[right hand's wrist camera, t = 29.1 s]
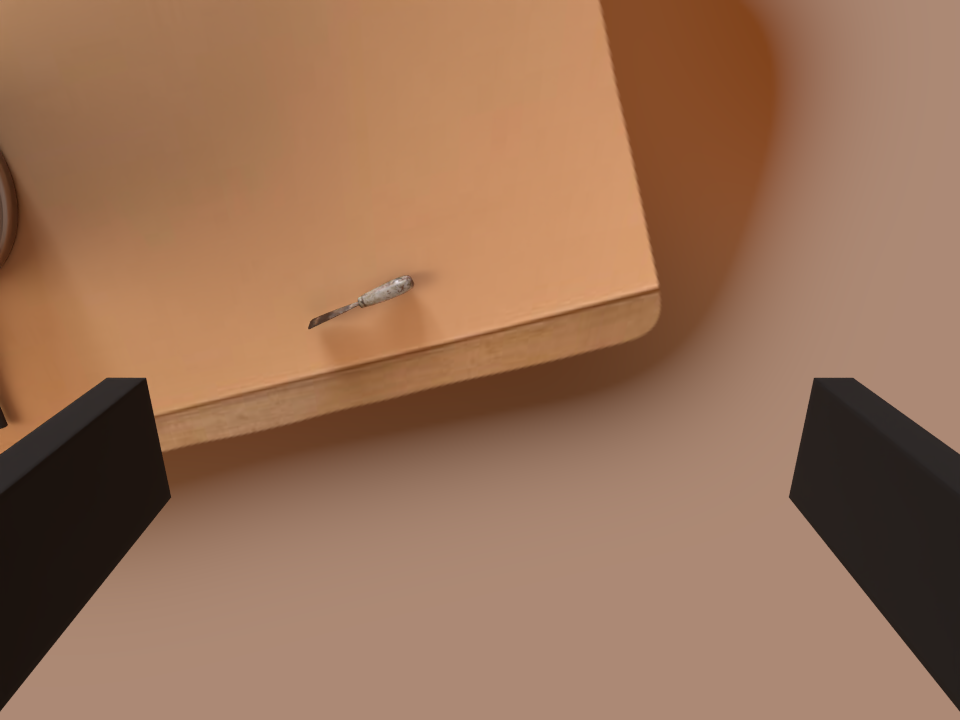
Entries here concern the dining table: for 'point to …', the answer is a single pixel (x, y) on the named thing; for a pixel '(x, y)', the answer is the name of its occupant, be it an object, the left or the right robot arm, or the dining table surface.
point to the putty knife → (371, 298)
